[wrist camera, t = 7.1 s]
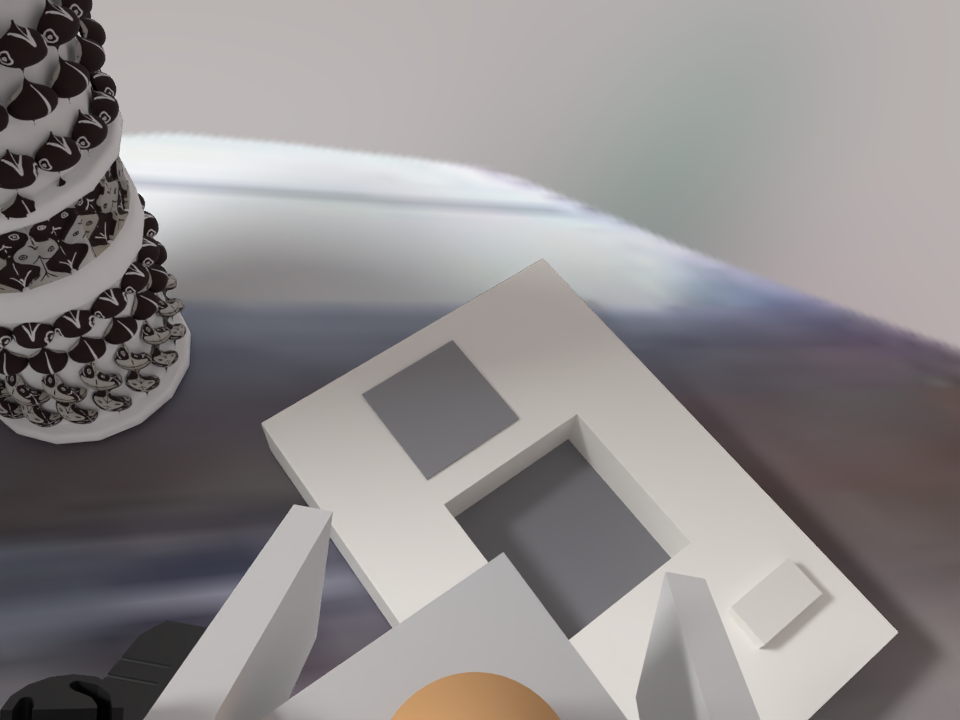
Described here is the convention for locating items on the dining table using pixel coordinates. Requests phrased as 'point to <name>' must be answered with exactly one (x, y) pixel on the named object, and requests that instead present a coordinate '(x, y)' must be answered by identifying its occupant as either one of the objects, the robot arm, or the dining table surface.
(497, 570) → the egg topped pedestal
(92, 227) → the decorative candle
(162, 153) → the dining table surface
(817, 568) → the socket plate
